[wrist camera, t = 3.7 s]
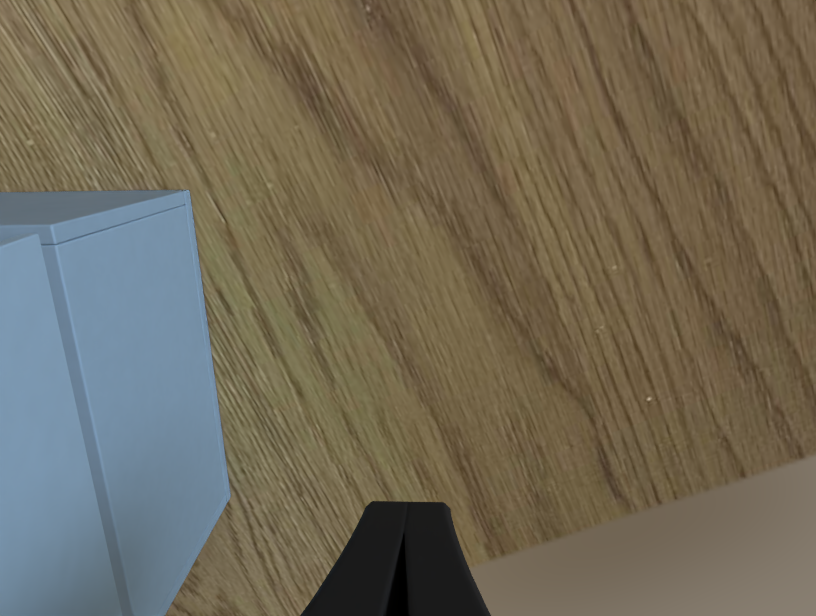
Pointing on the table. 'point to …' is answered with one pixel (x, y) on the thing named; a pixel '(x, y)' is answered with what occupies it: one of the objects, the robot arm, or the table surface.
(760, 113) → the table surface
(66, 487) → the flap
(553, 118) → the table surface
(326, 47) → the table surface
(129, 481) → the carton
